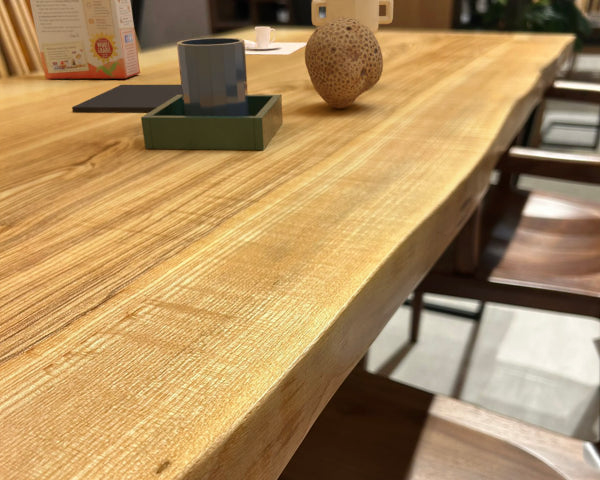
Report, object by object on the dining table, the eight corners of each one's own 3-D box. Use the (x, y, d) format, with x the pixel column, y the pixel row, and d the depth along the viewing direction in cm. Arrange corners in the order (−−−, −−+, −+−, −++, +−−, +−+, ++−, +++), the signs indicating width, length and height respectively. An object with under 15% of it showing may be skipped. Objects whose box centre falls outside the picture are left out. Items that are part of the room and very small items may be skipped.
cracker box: (142, 74, 104) (122, -75, 94) (126, 80, 99) (103, -77, 89) (63, 73, 107) (36, -71, 97) (44, 79, 101) (13, -73, 92)
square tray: (145, 149, 61) (140, 117, 60) (180, 122, 72) (177, 94, 70) (263, 150, 60) (262, 117, 59) (282, 122, 70) (281, 94, 69)
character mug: (386, 80, 93) (389, -19, 87) (394, 89, 87) (398, -18, 81) (311, 83, 93) (310, -17, 87) (314, 91, 86) (312, -16, 80)
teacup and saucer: (234, 51, 128) (233, 29, 126) (246, 46, 135) (245, 25, 133) (277, 51, 126) (276, 29, 125) (286, 46, 133) (286, 25, 131)
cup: (179, 142, 63) (168, 45, 59) (196, 127, 69) (187, 38, 65) (242, 143, 63) (235, 44, 58) (254, 128, 68) (249, 37, 64)
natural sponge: (351, 97, 82) (352, 12, 77) (397, 108, 75) (402, 16, 71) (292, 107, 78) (289, 17, 73) (335, 119, 71) (336, 21, 66)
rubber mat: (72, 112, 78) (71, 107, 78) (121, 88, 92) (121, 84, 92) (183, 112, 76) (183, 107, 76) (216, 88, 90) (215, 84, 90)
